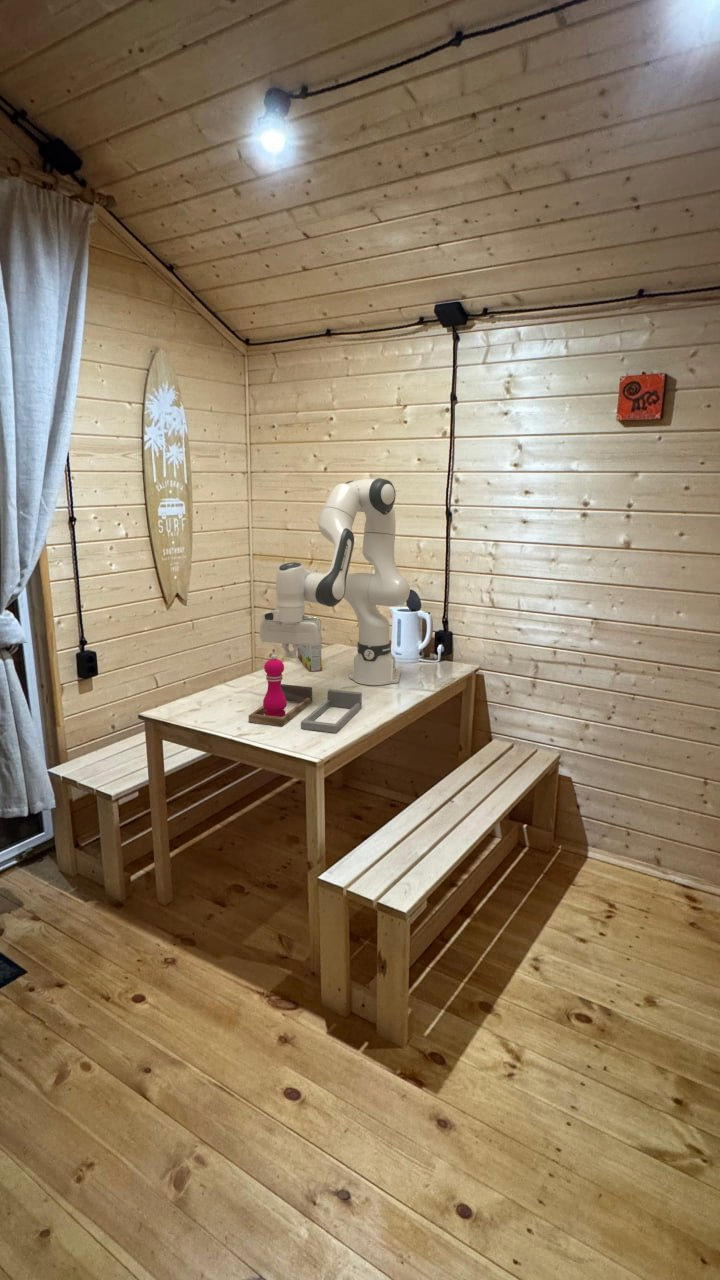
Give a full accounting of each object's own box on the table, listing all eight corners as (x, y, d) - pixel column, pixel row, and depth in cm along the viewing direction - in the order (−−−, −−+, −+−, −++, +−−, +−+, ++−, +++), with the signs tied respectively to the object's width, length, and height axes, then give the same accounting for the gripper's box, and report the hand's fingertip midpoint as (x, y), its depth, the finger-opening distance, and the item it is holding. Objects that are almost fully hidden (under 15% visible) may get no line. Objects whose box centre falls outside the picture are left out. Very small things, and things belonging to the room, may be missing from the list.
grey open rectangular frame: (329, 703, 225) (329, 689, 224) (361, 707, 222) (361, 692, 221) (300, 728, 203) (300, 712, 202) (336, 732, 200) (336, 716, 199)
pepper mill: (287, 713, 217) (286, 651, 212) (286, 721, 210) (285, 657, 205) (264, 713, 216) (263, 651, 212) (262, 721, 209) (260, 657, 205)
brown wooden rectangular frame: (281, 698, 230) (281, 684, 229) (312, 701, 227) (312, 687, 226) (248, 721, 208) (248, 706, 207) (282, 726, 205) (281, 710, 204)
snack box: (296, 658, 282) (295, 622, 278) (309, 657, 284) (309, 621, 280) (308, 672, 262) (308, 633, 259) (322, 671, 264) (322, 632, 260)
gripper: (324, 615, 218) (324, 657, 221) (265, 610, 224) (266, 652, 227) (317, 618, 212) (317, 662, 215) (257, 614, 218) (257, 656, 221)
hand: (290, 657), depth 221 cm, fingers closed
